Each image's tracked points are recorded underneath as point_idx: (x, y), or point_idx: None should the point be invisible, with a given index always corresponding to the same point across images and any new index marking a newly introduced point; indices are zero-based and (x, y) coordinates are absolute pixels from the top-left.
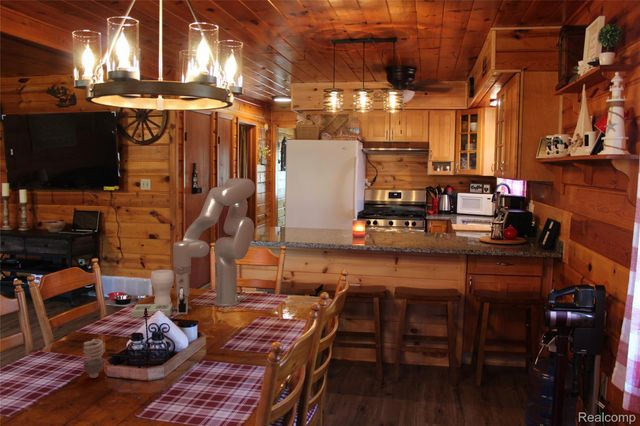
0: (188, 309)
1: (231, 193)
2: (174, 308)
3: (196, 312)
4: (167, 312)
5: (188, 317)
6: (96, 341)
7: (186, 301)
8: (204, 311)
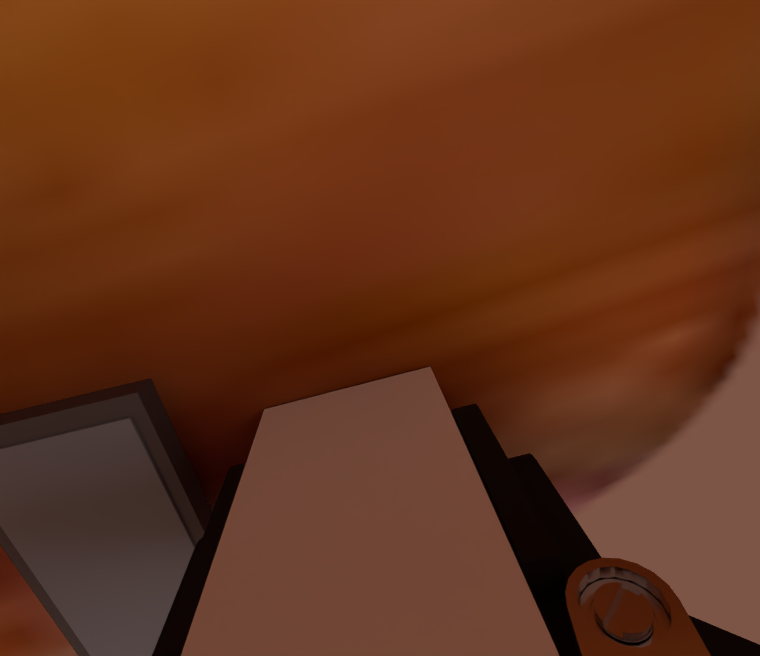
0: (164, 437)
1: None
2: None
3: (268, 228)
4: None
5: (636, 269)
6: None
7: (527, 600)
8: (136, 53)
